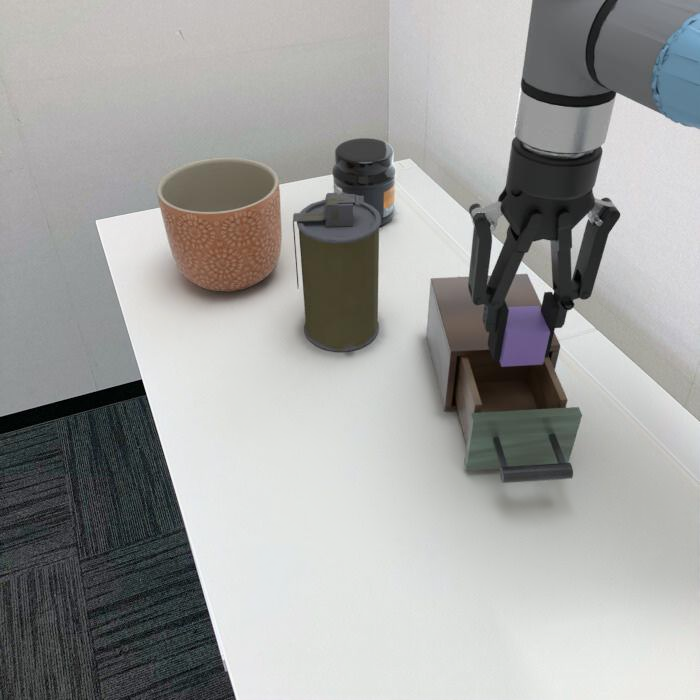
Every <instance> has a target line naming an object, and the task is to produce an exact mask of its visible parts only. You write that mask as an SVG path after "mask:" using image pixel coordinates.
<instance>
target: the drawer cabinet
mask: <svg viewBox="0 0 700 700" xmlns="http://www.w3.org/2000/svg"><path fill="white" fill-rule="evenodd" d="M490 277H491V274H490V275H489V274H488V280H487V284H488V282H489V279H490ZM468 280H469V276H451V277H431V278H430V281H429V295H428V309H427V323H426V340H427V345H428V348H429V352H430V358H431V361H432V366H433V369H434V373H435V378H436V382H437V387H438V390H439V394H440V399H441V403H442V406H443V410H444V412H458V409H457V406H456V402H455V398H454V394H453V388H454V379H455V371H456V362H457V356H469V355H488V354H491V353H490V350H489V347H488V337H489V332H486V329H485V326H484V323H483V321H482V318H483V311H484V304H481V305H475V304H474V303H473V301H472V298H471V295H470V292H469V289H468ZM505 302H506V304H507V307H526V306H539V308H540V311H541V307H542V302H541V300H540V298H539V296H538V294H537V292H536V290H535V288H534V285H533V283H532V281H531V279H530V277H529V274H528V273H516V275H515V277H514V279H513V282H512V284H511V286H510V289H509V291H508V293H507V295H506V298H505ZM560 349H561V343H560V342H559V339H558V337H557V335H556V333H555V332H554V335H553V339H552V343H551V348H550V352H549V358H550V360H551V363H552V365H553V367H554V370H555V371H556V367H557V363H558V359H559V355H560Z"/></svg>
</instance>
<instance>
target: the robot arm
mask: <svg viewBox="0 0 700 700" xmlns="http://www.w3.org/2000/svg"><path fill="white" fill-rule="evenodd" d="M526 37H527V38H526V43H525V50H524V58H523V65H522V73H521V80H520V88H519V93H518V101H517V107H516V114H515V120H514V127H513V133H514V138H513V139H512V140H511V146H510V152H509V153H510V154H509V158H508V165H507V172H506V180H505V186H504V188H503V190H502V191H501V192H500V194H499V195H498V198H497V201H494V202H492V203H489V204H486V205H483V206H482V205H481V204H480V203H477V202H475V203H472V204H471V205H470V206H469V209H468V212H469V215H470V218H471V222H472V225H473V231H472V241H471V250H470V251H471V253H470V261H469V271H468V277H469V280H468V289H469V292H470V295H471V298H472V301H473V303H474V304H475V305H481V304H484V311H483V318H482V321H483V323H484V326H485V329H486V332H489V337H488V347H489V350H490V353H491V356H492V359H493V361H494V360H500V357H501V351H502V345H503V339H504V333H505V329H506V324H507V319H508V313H509V309H508V307H507V304H506V302H505V298H506V295H507V293H508V291H509V289H510V286H511V284H512V282H513V279H514V277H515V275H516V274H517V273H518V270H519V267H520V265H521V263H522V260H523V258H524V256H525V254H527V253H528V252H529V251H530V250H531V246H532V244H533V243H534V242H538V241H542V240H544V241H550V242H549V243H550V260H551V261H550V262H551V278H552V290H553V291H544V293H543V296H542V297H543V298H542V302H541V305H542V307H541V313H542V315H543V317H544V319H545V322H546V324H547V326H548V328H549V330H550V335H549V340H548V344H547V349H546V353H545V358H548V356H549V352H550V348H551V343H552V339H553V335H554V333H555V330H556V329H561V328H563V326H564V325H565V322H566V319H567V314H568V312H569V311H571V310H573V309H574V307H575V302H574V301H575V300H577V299H581V300H583V301H585V300H588V299H590V297H591V296H592V294H593V290H594V288H595V287H594V286H595V284H596V279H597V276H598V273H599V269H600V266H601V262H602V259H603V256H604V251H605V248H606V244H607V241H608V237H609V234H610V233H611V231H612V230H613V229H614V227H615V225H616V224H617V222H618V221H619V219H620V217H621V212H620V211H619V210H618V208H617V206H615V204H614V203H613V201H612V200H611V198H609V197H603V198H601V199H599V198H595V196H594V195H595V194H594V192H593V191H594V190H593V189H594V187H595V186H596V182H597V177H598V173H599V169H600V164H601V160H602V156H603V152H604V151H603V148H602V146H603V145H604V144H605V143H606V140H607V136H608V131H609V128H610V123H611V120H612V119H611V118H612V114H613V110H614V105H615V101H616V97H617V94H619V95H620V96H623V97H625V98H627V99H629V100H631V101H633V102H636V103H638V104H640V105H642V106H644V107H646V108H648V109H650V110H652V111H653V112H656V113H659V114H660V115H663V116H664V117H665V118H667V119H669V120H670V121H671V122H673V123H675V124H680V125H682V126H684V127H689V128H694V129H697V130H700V0H532V1H531V8H530V16H529V23H528V30H527V36H526ZM501 216H503V218H505V220H506V222H507V223H508V224H509V225H508V227H507V230H506V238H505V241H504V243H503V244H502V248H501V250H500V253H499V255H498V257H497V260H496V261H495V264H494V267H493V269H492V272H491V274H490V275H491V277H490V279H489V282H488V284H487V280H488V276H489V271H490V263H491V256H492V255H491V254H492V248H493V247H492V245H493V234H492V232H494V231H495V230H496V228H497V226H498V220H499V218H500V217H501ZM586 216H587V221H586V224H585V228H584V232H583V236H582V240H581V244H580V247H579V251H578V254H577V259H576V263H575V267H574V271H573V273H572V251H571V250H572V248H573V229H574V228H575V227H576V226H577V225H578V224H579V223H580V222H581V221H582V220H583V219H584V218H585V217H586Z"/></svg>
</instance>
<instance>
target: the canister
mask: <svg viewBox="0 0 700 700" xmlns="http://www.w3.org/2000/svg"><path fill="white" fill-rule="evenodd" d="M359 200H360V198H359V196H358V195H356V196H355V194H338V193H334V192H327V193H326V194H325V198H324V199H322V200H319V201H315V202H313V203H310V204H309V205H307V206H306V207H304V208H302V209H301V210H300V211H299V212H294V213H293V215H292V231H293V243H294V257H295V272H296V284H297V288H299V286H300V285H299V274H298V272H299V271H298V257H297V245H296V231H295V222H296V225H297V228H298V237H299V250H300V252H299V253H300V265H301V279H302V293H303V306H304V320H305V322H304V325H303V331H304V334H305V337H306V339H308V340H309V342H311V344H313V345H314V346H316V347H318V348H321V349H322V350H323V349H324V350H326V351H331V352H351V351H356V350H359V349H361V348H363V347H365V346H367V345H369V344H371V343H372V342H373V341H374V340H375V338H376V337H377V336H378V334H379V330H380V323H379V314H378V313H379V264H380V263H379V262H380V261H379V260H380V259H379V258H380V227H381V225H380V224H381V217H380V213H379V212H378V211H377V210H376V209H375V208H374V207H373V206H371V205H369V204H367V203H365V202H362V201H359Z"/></svg>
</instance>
